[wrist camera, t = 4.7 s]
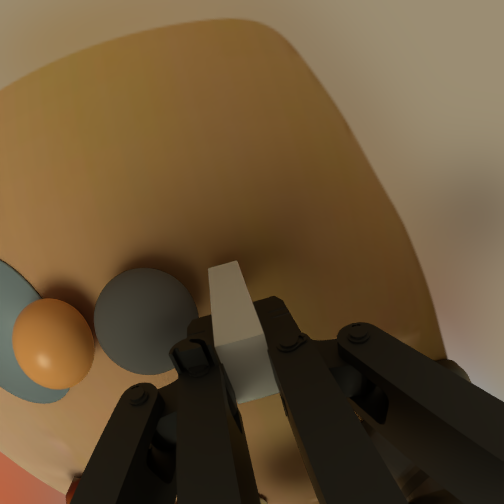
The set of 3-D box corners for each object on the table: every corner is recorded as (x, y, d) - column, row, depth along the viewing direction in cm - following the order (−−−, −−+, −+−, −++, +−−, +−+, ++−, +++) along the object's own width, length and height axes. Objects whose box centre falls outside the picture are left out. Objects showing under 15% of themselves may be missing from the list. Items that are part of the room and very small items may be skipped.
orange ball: (112, 305, 16) (83, 358, 11) (97, 365, 17) (76, 420, 12) (40, 270, 14) (-6, 309, 9) (34, 334, 15) (0, 380, 10)
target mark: (83, 304, 15) (82, 305, 15) (69, 422, 18) (69, 424, 18) (-49, 226, 12) (-51, 226, 12) (-40, 355, 14) (-41, 356, 14)
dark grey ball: (136, 386, 9) (65, 351, 11) (208, 387, 14) (136, 364, 16) (165, 250, 11) (90, 250, 13) (226, 289, 16) (153, 283, 18)
